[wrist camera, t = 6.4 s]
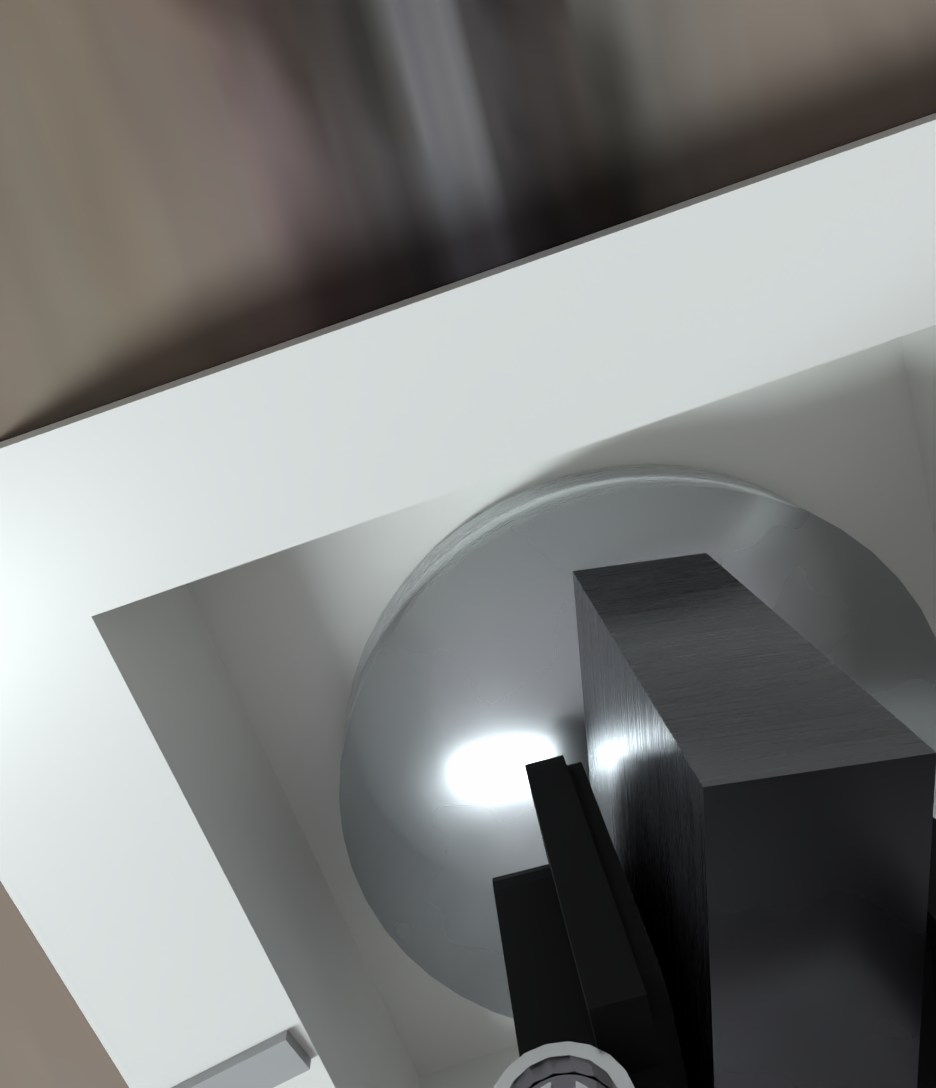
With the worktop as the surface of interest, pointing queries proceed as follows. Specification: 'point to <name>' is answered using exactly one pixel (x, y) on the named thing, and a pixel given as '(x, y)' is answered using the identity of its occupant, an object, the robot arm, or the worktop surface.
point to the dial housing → (397, 585)
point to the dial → (667, 759)
